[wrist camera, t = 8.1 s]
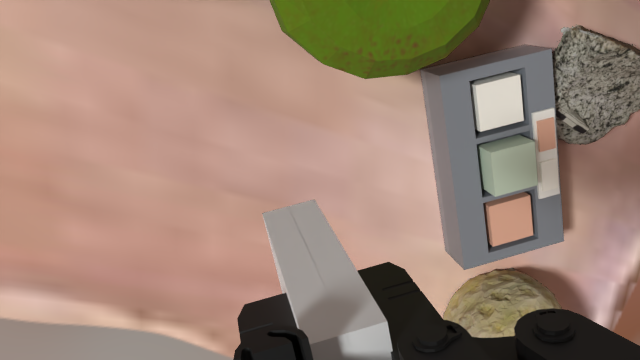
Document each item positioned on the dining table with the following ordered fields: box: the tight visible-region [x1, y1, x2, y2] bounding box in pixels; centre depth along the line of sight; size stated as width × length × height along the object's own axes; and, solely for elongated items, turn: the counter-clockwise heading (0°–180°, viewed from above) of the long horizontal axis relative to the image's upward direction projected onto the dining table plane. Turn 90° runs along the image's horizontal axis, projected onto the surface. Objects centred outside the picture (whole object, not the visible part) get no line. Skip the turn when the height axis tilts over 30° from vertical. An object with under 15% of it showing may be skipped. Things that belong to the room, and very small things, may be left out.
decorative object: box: [443, 268, 562, 338], centre depth 46 cm, size 9×10×10 cm
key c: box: [483, 192, 533, 247], centre depth 44 cm, size 3×3×2 cm
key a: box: [469, 72, 524, 132], centre depth 41 cm, size 3×3×2 cm
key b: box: [477, 135, 538, 197], centre depth 41 cm, size 3×3×2 cm
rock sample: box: [552, 25, 640, 145], centre depth 43 cm, size 10×8×9 cm
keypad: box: [420, 45, 564, 270], centre depth 43 cm, size 14×8×4 cm, turn 11°
